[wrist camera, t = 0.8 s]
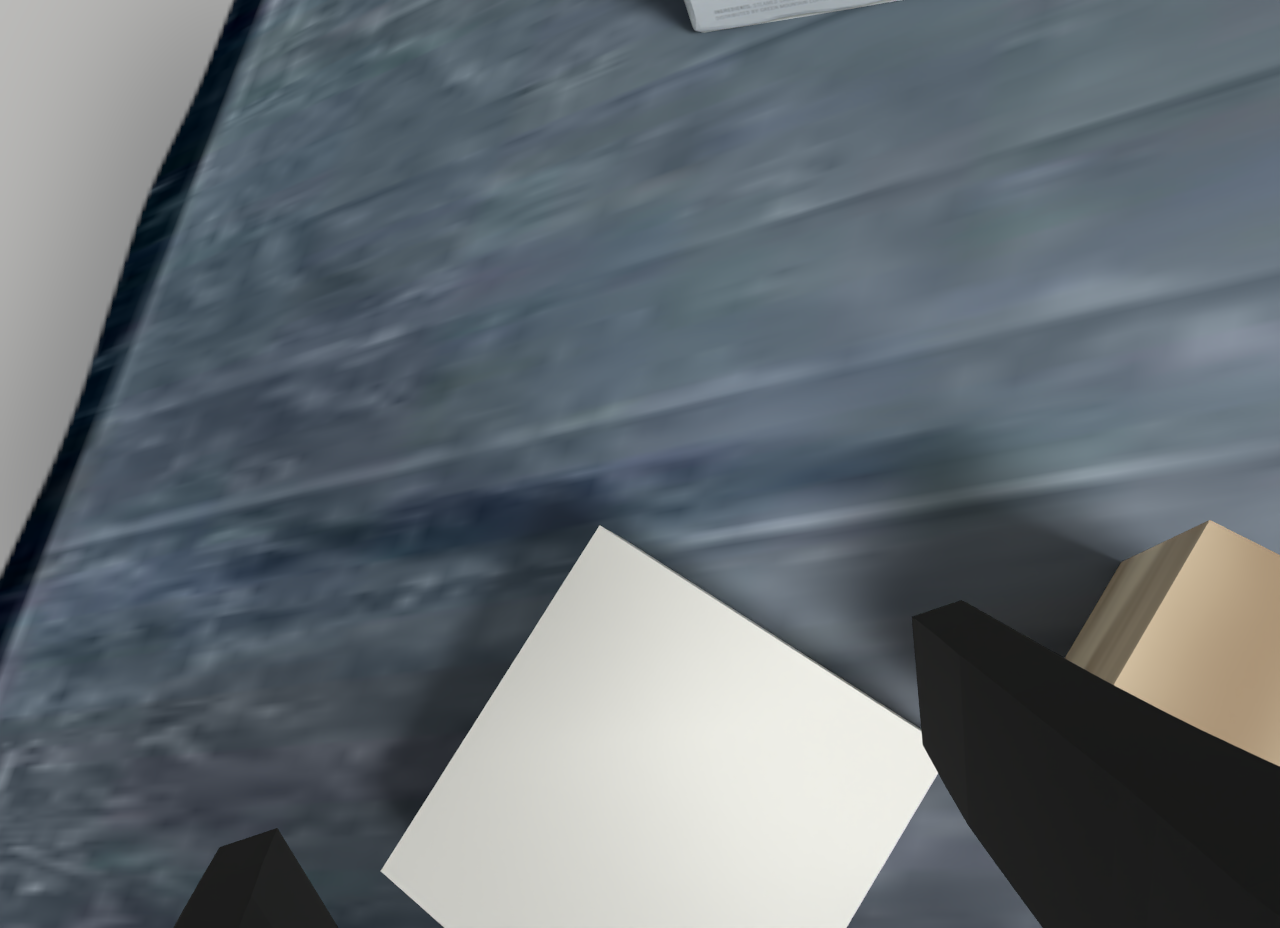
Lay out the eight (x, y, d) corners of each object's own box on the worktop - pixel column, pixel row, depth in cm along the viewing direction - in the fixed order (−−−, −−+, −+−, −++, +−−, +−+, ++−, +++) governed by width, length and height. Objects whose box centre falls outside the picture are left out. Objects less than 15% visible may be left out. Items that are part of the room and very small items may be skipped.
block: (1251, 631, 22) (1396, 613, 16) (1137, 830, 21) (1240, 889, 15) (1120, 561, 23) (1209, 520, 17) (1009, 750, 23) (1060, 776, 16)
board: (943, 743, 23) (951, 750, 20) (725, 1109, 22) (708, 1160, 20) (624, 539, 26) (599, 525, 24) (426, 853, 25) (380, 871, 23)
